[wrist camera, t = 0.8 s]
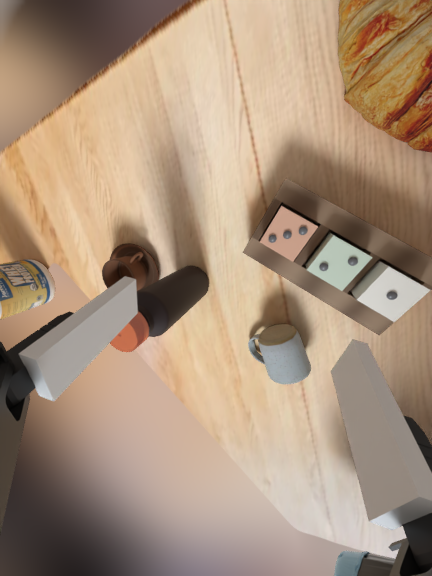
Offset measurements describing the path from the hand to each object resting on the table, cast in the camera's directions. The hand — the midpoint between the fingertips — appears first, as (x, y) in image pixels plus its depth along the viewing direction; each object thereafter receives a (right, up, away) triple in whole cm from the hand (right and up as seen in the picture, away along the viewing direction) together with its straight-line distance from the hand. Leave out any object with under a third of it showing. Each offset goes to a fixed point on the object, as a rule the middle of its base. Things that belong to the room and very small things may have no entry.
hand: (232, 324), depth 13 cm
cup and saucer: (-18, +6, +33) cm, 38 cm away
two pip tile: (+15, +6, +16) cm, 23 cm away
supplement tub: (-48, +4, +45) cm, 66 cm away
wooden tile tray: (+16, +8, +19) cm, 26 cm away
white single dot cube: (+21, +3, +15) cm, 26 cm away
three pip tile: (+9, +10, +17) cm, 21 cm away
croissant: (+20, +27, +12) cm, 35 cm away
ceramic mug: (+11, -8, +28) cm, 31 cm away
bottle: (-5, +3, +29) cm, 30 cm away
